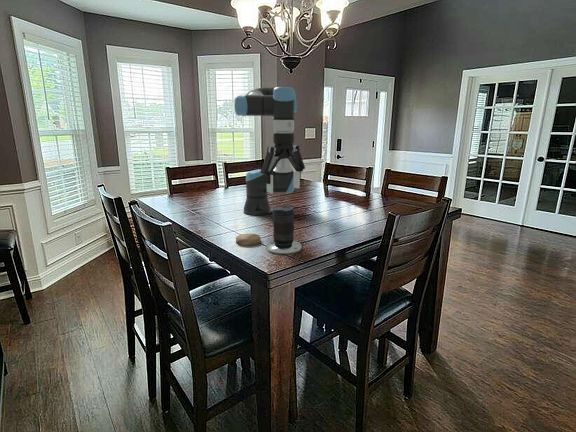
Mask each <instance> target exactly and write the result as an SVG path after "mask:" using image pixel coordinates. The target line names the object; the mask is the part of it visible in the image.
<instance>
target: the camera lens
mask: <svg viewBox="0 0 576 432" xmlns="http://www.w3.org/2000/svg"><path fill="white" fill-rule="evenodd" d="M272 222H273V223H272V224H273V228H272V229H273V241H274V242H275V246H276V247H278V248H290V247H292V243H293V241H294V238H295V233H294V229H295V225H294V222H295V212H294V207H292V206H288V205H287V206H286V205H285V206H282V205H281V206H276V207H273V209H272Z"/></svg>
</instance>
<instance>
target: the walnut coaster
mask: <svg viewBox="0 0 576 432" xmlns="http://www.w3.org/2000/svg"><path fill="white" fill-rule="evenodd" d="M261 241H262V240H261V236H260V234H257V233H242V234H238V235H237V236H235V244H236V245H237V244H238V246H241V247H255V246H257V245H259V244H261Z"/></svg>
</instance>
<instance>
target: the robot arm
mask: <svg viewBox="0 0 576 432" xmlns="http://www.w3.org/2000/svg"><path fill="white" fill-rule="evenodd" d="M234 113H235V115H237V116H242V117H251V116H252V117H253V116H254V117H257V116H258V117H259V116H261V117H271V119H273V121H272V122H273V124H272V127H273V128H272V129H273V140H272V141H273V143H274V144H273V146H267V149H266V155H265V157H264V160H263V163H262V166H261V168H260V169H259V168H258V169H253V170H250V171H247V172H246V173H245V185H246V186H245V187H246V188H245V189H246V194H245V195H246V199H245V203H244V206H243V213H244V214H245V215H249V216H264V215H265V216H266V215H269V214H271V213H272V206H271V204H270V201H269V194H285V195H286V194H292V193H293V192H294V190H295V189H298V190H299V189H300V188H301V187H300V186H301V178H302V177H301V174H302V172H303V171H304V170H305V169H306V166H305V163H304V161H303V158H302V154H301V151H300V145H298V144H297V145H295V144H294V143H295V134H294V132H295V114H296V113H298V103H297V95H296V91H295V88H293V87H291V86H277V87H270V86H269V87H267V86H266V87H263V86H262V87H258V88H253V89H251V90H249V91H248V92H247V93H246V94H238V95H237V94H236V95H235V97H234Z"/></svg>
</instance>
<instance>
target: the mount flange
mask: <svg viewBox="0 0 576 432" xmlns="http://www.w3.org/2000/svg"><path fill="white" fill-rule="evenodd" d="M302 246H303V245H302V243H300V242H299V241H296V240H293V243H292V247H290V248H278V247H276V246H275V242H274V240H271V241H269V242H267V243H266V244H265V250H266V251H267V252H268V253H270V254H273V255H274V254H275V255H284V256H285V255H293V254H296V253H299V252H300V251H301V250H302V249H303V248H302Z"/></svg>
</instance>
